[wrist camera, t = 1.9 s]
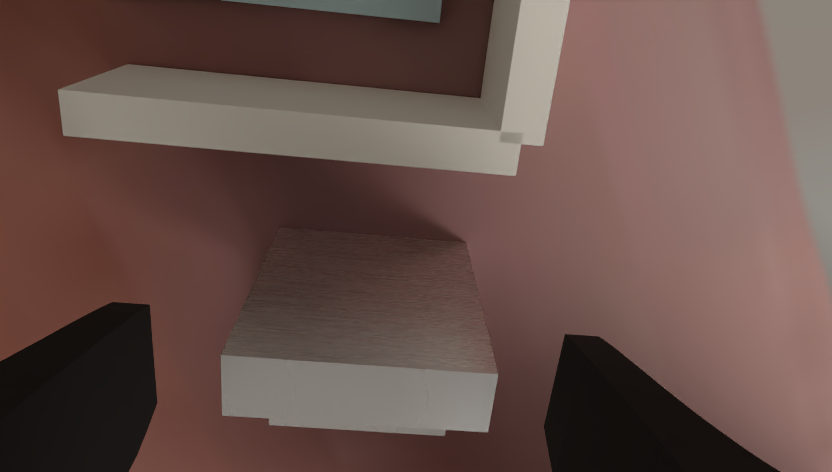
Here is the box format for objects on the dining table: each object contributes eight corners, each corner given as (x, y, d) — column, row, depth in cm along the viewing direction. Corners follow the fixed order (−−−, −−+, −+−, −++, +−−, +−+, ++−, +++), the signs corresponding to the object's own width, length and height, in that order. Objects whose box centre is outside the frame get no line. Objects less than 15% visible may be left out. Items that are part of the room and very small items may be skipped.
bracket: (279, 225, 15) (220, 355, 10) (465, 240, 15) (498, 374, 10) (277, 395, 17) (226, 575, 12) (442, 406, 17) (459, 587, 12)
